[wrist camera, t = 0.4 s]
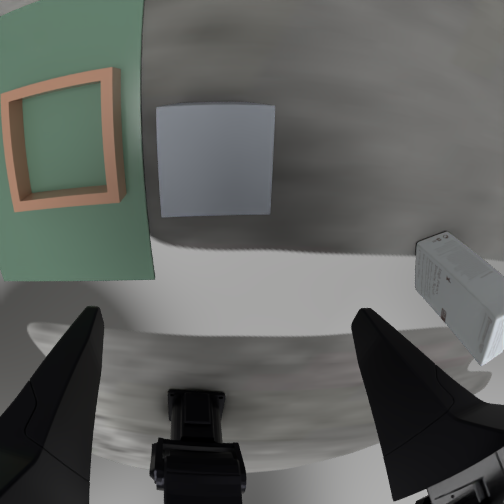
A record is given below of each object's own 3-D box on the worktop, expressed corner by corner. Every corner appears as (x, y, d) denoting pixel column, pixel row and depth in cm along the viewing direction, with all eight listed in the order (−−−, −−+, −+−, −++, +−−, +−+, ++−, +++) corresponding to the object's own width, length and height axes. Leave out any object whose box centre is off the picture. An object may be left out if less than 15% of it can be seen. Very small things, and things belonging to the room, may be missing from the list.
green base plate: (155, 277, 26) (133, 384, 16) (5, 279, 24) (-51, 358, 14) (147, -34, 14) (106, -113, 4) (-24, 20, 12) (-112, 13, 2)
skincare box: (414, 242, 27) (495, 319, 17) (448, 228, 27) (530, 295, 17) (414, 291, 30) (477, 370, 20) (446, 277, 30) (512, 347, 20)
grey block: (245, 164, 22) (270, 214, 14) (180, 166, 22) (161, 217, 13) (246, 101, 20) (275, 105, 11) (179, 102, 20) (156, 107, 11)
